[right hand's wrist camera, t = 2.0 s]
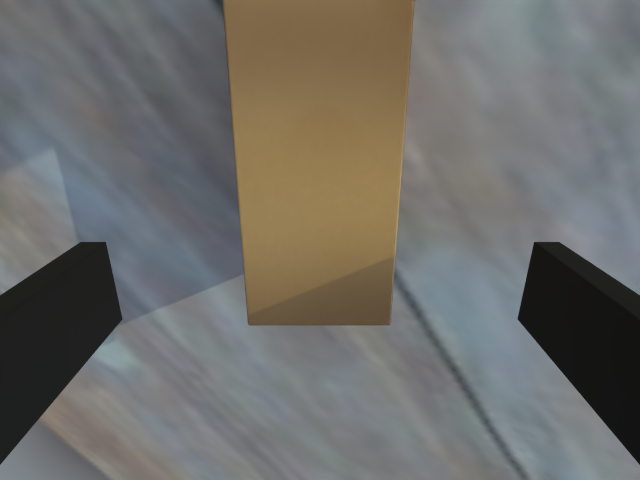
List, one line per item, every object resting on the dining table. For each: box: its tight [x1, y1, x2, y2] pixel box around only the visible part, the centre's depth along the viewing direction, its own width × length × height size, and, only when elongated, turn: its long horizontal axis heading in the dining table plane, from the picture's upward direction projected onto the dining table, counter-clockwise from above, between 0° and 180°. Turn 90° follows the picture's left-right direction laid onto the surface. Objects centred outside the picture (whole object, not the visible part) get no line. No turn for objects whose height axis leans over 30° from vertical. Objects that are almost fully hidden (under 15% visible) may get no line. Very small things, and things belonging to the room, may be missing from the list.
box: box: [222, 0, 415, 325], centre depth 18 cm, size 21×6×12 cm, turn 0°
